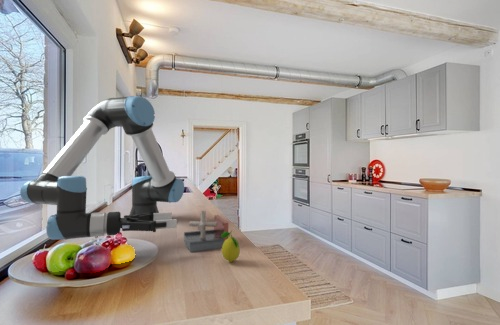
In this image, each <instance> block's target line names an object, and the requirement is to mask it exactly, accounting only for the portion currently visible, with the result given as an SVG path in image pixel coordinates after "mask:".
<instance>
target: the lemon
mask: <svg viewBox="0 0 500 325" xmlns="http://www.w3.org/2000/svg"><path fill="white" fill-rule="evenodd" d="M221 237H222V238H226V237H228V239H226V240H225V241H224V243H223V246H222V249H221V255H222V257H223V258H224V259H225V260H226V261H228V262H229V263H233V262H234V261H236V260H237V259H238V258H239V257H240V256H239V255H240V250H241V249H240V248H241V247H240V244H239V241H238V240H237V239H236V238H235V237H234V236H232V231H230V232H229V231H228V232H227V231H225V232H223V233H222V235H221Z"/></svg>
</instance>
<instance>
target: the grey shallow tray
mask: <svg viewBox="0 0 500 325" xmlns="http://www.w3.org/2000/svg"><path fill="white" fill-rule="evenodd" d="M213 216H214V217H213V218H214V219H213V222H217V226H216V227H214V229H206V237H205V238H201V230H195V231H194V230H193V231H192V230H191V231H184V232H183V241H184V244H185V246H186V247H187V250H188V251H189V253H195V252H204V251H212V250H214V251H215V250H220V249H221V250H222V246H223V243H224V241H225V240H226V239H228V238H229V237H226V238H222V237H221V235H222V233H223V232H225V231H227V232H229V222H228V221H226V220H225V219H224V218H223V217H221V216H220V215H218V214H217V215H213Z"/></svg>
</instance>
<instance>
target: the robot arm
mask: <svg viewBox="0 0 500 325" xmlns="http://www.w3.org/2000/svg"><path fill="white" fill-rule="evenodd" d="M155 119H156V116H155V108H154V107H153V105H152V102H150V101H149V100H148V99H147V98H146V97H144V96H139V95H138V96H134V95H129V96H121V97H109V98H107V99H104V100H102V101H101V102H98V103H97V104H96V105H95V106H93V107H92V109H91V110H90V111H88V113H87V114H86V115H85V116H84V117H83V119H82V124H81V125H80V127H79V128H78V129H77V130H76V132H75V133H74V134H73V135H72V136H71V137H70V139H69V140H68V142H66V144H64V146H63V147H62V148H61V150H60V151H59V152H58V153H57V154H56V155H55V156H54V158H53V159H52V160H51V162H50V163H49V164H48V165H47V166H46V167H45V169H44V170H43V171H42V172H41V174H40V175H39V176H38V177H37V178H36V179H34V180H29V181H26V182H25V183H24V184H22V186H21V187H20V190H19V193H20V197H21V199H22V200H23V201H24V202H26V203H30V204H35V205H51V206H56V214H51V215H50V216H49V217H48V219H47V222H46V223H47V224H46V236H47V238H48V239H49V240H71V239H82V238H92V237H93V238H95V239H98V238H99V237H105V235H107V236H109V237H110V236H117V235H116V234H117V233H121V231H122V232H129V231H132V232H133V231H134V232H152V233H156V232H157V230H164V229H165V230H166V229H174V228H175V229H177V227H178V219H176V218H174V219H172V218H173V213H172V212H160V211H159V208H158V206H157V205H158V202H161V203H169V204H171V203H178V202H179V201H180V200H181V199H182V198H183V196H184V191H185V183H184V181H183V179H181V178H177V176H176V174H175V173H174V172H173V171H171V170H170V169H169V167H168V164H167V161H166V159H165V157H164V154H163V153H162V150H161V148H160V145H159V143H158V141H157V139H156V136H155V133H154V132H153V129H152V128H153V127H154V122H155ZM117 127H118V128H119V127H122V129H123V131H124V133H125V135H127V136H129V137H131V138H132V140H133V142H134V146H136V148H137V151H138V153H139V155H140V157H141V159H142V161H143V163H144V164H145V167H146V170H147V171H148V173H149V175H142V176H136V177H133V179H132V184H131V202H132V203H131V205H132V206H131V209H130V212H129V214H128V215H124V216H123V217H122V215H121V214H122V213H121V212H120V211H109V212H106V211H101V212H87V190H88V188H87V179H86V176H83V175H73V174H75V171H77V169H78V167H80V165H81V164H82V163H83V161H84V159H85V158H86V157H87V156H88V155H89V153H90V152H91V150H92V149H93V147H94V146H96V144H97V143H98V141H99V140H100V139H101V137H102V136H104V135H106V134H108V132H109V131H110V130H111V129H114V128H117Z"/></svg>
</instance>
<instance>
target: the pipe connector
mask: <svg viewBox="0 0 500 325" xmlns="http://www.w3.org/2000/svg"><path fill="white" fill-rule="evenodd" d="M206 212H207V211H206V209H202V210H200V221H199V220H198V221H197V220H196V221H195V220H194V221H193V220H189V222H188V225H189V226H188V227H197V229H198V231H201V238H205V237H206V230H207V228H206V227H212V228H213V227H216V226H217V222H214V221H209V220H208V219H207V218H206V217H207V215H206Z"/></svg>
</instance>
